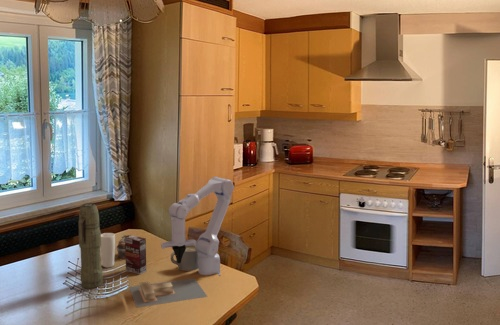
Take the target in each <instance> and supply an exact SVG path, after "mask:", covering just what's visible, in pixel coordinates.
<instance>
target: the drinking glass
mask: <svg viewBox="0 0 500 325" xmlns="http://www.w3.org/2000/svg"><path fill="white" fill-rule="evenodd" d="M115 253H116V235H115V233H113V232H104V233H101V246H100V256H101V261H102V262H101V265H102V267H103V268H112V267H114V266H115Z"/></svg>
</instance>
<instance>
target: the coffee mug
mask: <svg viewBox="0 0 500 325" xmlns="http://www.w3.org/2000/svg"><path fill="white" fill-rule="evenodd" d="M185 247H186V250H185V252H184V254H183V256H182V260H181V263H177V260H176V259H174V257H175V253H174V251H172V252H171V254H170V261H171V263H172V264H174V265H177V268H178V271H189V272H190V271H196V270H197V269H198V254H197V251H196V250H195V245H185Z"/></svg>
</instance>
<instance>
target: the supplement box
mask: <svg viewBox="0 0 500 325" xmlns="http://www.w3.org/2000/svg"><path fill="white" fill-rule="evenodd" d="M130 235H131V236H128V235H127V236H128V237H126V238H125V257H126V259H125V271H126V272H129V273H134V274H137V275H142V274H143V273H145V272H147V239H146V237H141V236H136V235H133V234H130Z"/></svg>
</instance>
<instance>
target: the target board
mask: <svg viewBox="0 0 500 325" xmlns="http://www.w3.org/2000/svg"><path fill="white" fill-rule="evenodd" d="M169 282H171V284H172V285H173V293H170V294H163V295H156V296H155V300H152V301H146V302H145V301H144V298H143V296H142V294H141V291H140V285H136V286H128V288H129V291H130V294H131V296H132V299H133V301H134V304H135V306H136V308H143V307H148V306H155V305H157V306H158V305H162V304H168V303H175V302H182V301H189V300H195V299H200V298H201V299H202V298H207V297H208V295H207V294H206V292H205V291H204V289H203V288H202V287H201V285H200V284H199V283H198V281H197V279H196V278H195V277H193V278H185V279H184V278H183V279H178V280H171V281H170V280H169V281H164V282H155V283H150V284H151V285H155V284H162V283H169Z"/></svg>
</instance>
